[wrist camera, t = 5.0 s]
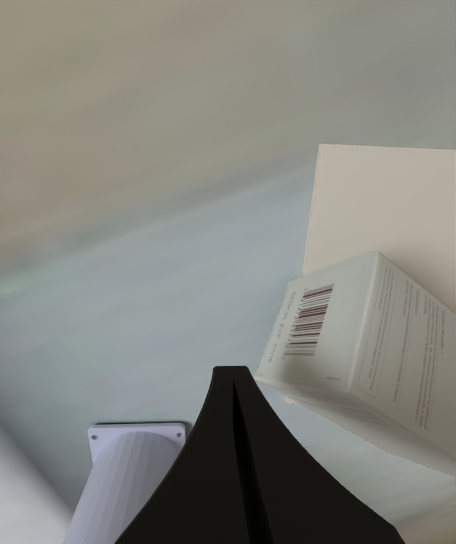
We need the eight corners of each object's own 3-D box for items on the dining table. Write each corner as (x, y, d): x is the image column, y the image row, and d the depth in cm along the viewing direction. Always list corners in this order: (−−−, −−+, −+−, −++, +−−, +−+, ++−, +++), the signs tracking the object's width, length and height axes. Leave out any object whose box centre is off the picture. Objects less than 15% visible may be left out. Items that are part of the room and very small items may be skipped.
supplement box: (248, 379, 17) (389, 458, 20) (347, 393, 10) (533, 508, 13) (286, 279, 20) (402, 360, 23) (379, 242, 14) (523, 362, 17)
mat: (439, 397, 25) (443, 400, 25) (285, 399, 24) (286, 403, 24) (528, 154, 18) (535, 153, 18) (319, 144, 17) (321, 144, 17)
